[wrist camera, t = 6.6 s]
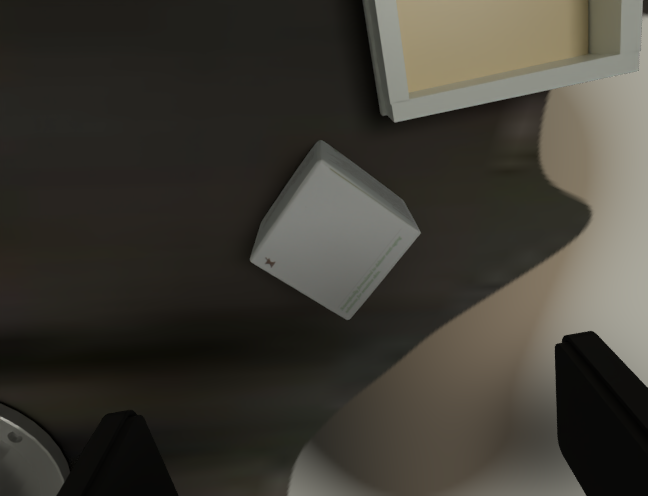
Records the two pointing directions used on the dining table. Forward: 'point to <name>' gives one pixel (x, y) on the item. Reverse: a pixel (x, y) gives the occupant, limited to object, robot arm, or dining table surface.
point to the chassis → (494, 49)
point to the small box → (333, 232)
